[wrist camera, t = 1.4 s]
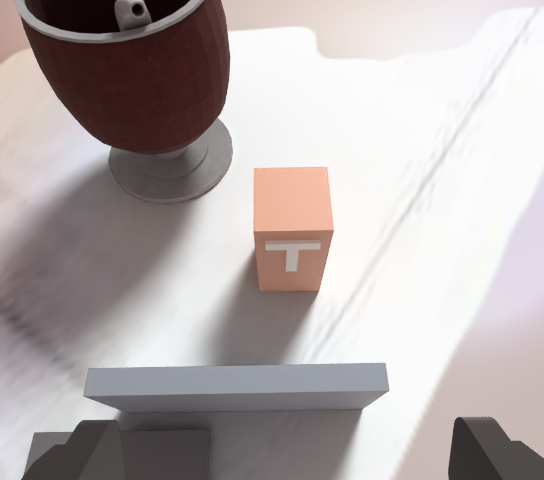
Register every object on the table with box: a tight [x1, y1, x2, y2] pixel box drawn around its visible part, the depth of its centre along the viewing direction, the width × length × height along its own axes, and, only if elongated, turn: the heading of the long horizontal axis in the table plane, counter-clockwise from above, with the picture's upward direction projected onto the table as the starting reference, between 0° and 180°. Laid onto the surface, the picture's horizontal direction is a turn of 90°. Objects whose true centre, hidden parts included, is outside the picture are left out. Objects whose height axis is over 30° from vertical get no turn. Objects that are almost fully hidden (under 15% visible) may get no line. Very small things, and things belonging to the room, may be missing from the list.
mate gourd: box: [14, 0, 233, 203], centre depth 33 cm, size 16×14×20 cm
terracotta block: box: [254, 167, 334, 292], centre depth 31 cm, size 5×5×10 cm
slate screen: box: [83, 363, 389, 413], centre depth 27 cm, size 17×2×8 cm, turn 91°
